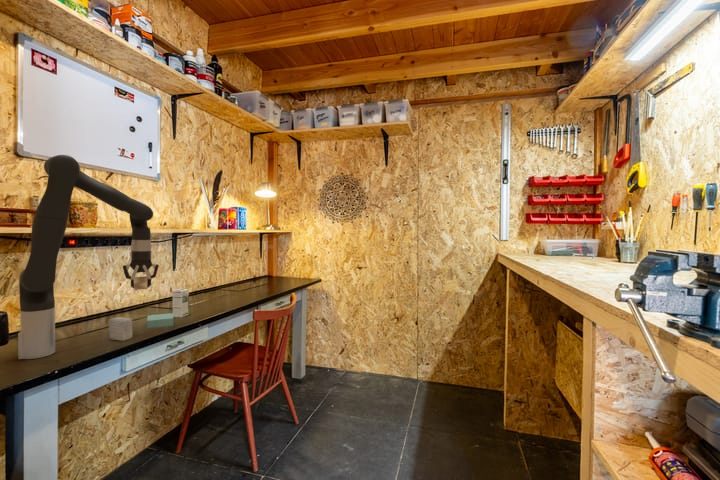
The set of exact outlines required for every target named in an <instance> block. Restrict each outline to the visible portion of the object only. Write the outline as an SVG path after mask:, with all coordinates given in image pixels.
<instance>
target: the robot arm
mask: <svg viewBox="0 0 720 480" xmlns="http://www.w3.org/2000/svg"><path fill="white" fill-rule="evenodd" d="M80 167H81V166H80V164H79V163H78V160H76V159H75V158H74V157H73V156H70V155H67V154H59V155H54V156H52V157H49V158H48V159H46V160H45V162H44V164H43V170H44V172H45V173H46V174H47V175H48V177H47V183H46V187H45V192H44V193H43V196H42V197H41V200H40V201H39V203H38V206H37V207H36V210H35V213H34V216H33V219H32V220H33V221H32V225H31V226H32V227H31V233H30V234H31V235H30V253H29V258H28V261H27V264H26V266H25V269H23V270H22V271H21V273H20V275H19V277H18V278H19V281H18V283H19V287H18V288H19V310H20V311H19V314H20V315H19V317H20V331H19V332H18V334H17V342H18V343H17V345H18V346H17V349H18V351H17V352H18V353H17V354H18V360H32V359H33V360H34V359H39V358H40V359H41V358H44V357H48V356H51V355H53V354H55V353H56V310H55V309H56V302H55V301H56V300H55V291H54V283H55V281H56V274H57V272H56V270H57V262H58V261H57V260H58V255H59V251H60V250H61V245H62V243H63V241H64V237H65V234H66V233H65V232H66V230H67V225H68V220H69V215H70V208H71V203H72V195H73V191H74V188H77V189H79V190H81V191H83V192H85V193H87V194H89V195H91V196H93V197H94V198H96V199H98V200H100V201H101V202H103V203H105V204H107V205H108V206H111V207H113V209H116V210H118V211H121V212H124V213H127V214H129V222H130V227H131V244H130V246H131V247H130V250H131V251H130V254H131V255H130V263H129V264H124V265H122V270H123V274H124V276H125V279H126V280H130V287H131V288H132V289H134V278H135V277H137V274H138V273H144V274H145V275H146V277H148V279H147V287H148V288H150V287H151V286H152V279H155V278H156V276H157V273H158V269H159V264H156V263H153V262H152V243H151V242H152V241H151V239H152V238H151V237H152V236H151V235H152V234H151V232H152V231H151V228H150V227H149V225H148V221H150V220H152V218H154V211H153V210H152V208H151V207H150V206H148V205H147V204H145V203H143V202H141V201H139V200H136V199H134V198H132V197H130V196H129V195H127V194H125V193H124V192H122V191H120V190H119V189H116V188H115V187H114V186H110V185H108V184H106V183H104V182H101V181H99V180H98V179H95V178H93V177H91V176H90V175H87V174H86V173H84V172H83V171H82V170H81V169H80ZM130 268H131V269H132V270H133V272H132V274H131V275H130V274H129V269H130ZM151 268H152V269H153V274H152V275H151V273H150V272H151V271H150V269H151Z"/></svg>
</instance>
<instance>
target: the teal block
mask: <svg viewBox="0 0 720 480" xmlns="http://www.w3.org/2000/svg"><path fill="white" fill-rule="evenodd" d="M170 326H171V327H173V326H174V317H173V312H172V313H171V312H170V313H169V312H168V313H160V314H159V313H158V314H151V315H150V314H148V315H147V319H146V329H155V328H156V329H157V328H163V327H170Z"/></svg>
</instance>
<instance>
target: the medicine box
mask: <svg viewBox="0 0 720 480" xmlns="http://www.w3.org/2000/svg"><path fill="white" fill-rule="evenodd" d="M108 338H109V340H112V341H113V340H114V341H123V342H124V341H127V340H130V339H133V318H130V317H122V316H121V317H120V316H117V317H113V318H110V319H108Z"/></svg>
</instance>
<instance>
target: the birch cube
mask: <svg viewBox="0 0 720 480" xmlns="http://www.w3.org/2000/svg"><path fill="white" fill-rule="evenodd" d="M147 279H148V277H147V276H135V278H134V288H133V290H134V291H135V290H137V291H138V290H148V288H149V287H147Z"/></svg>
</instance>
